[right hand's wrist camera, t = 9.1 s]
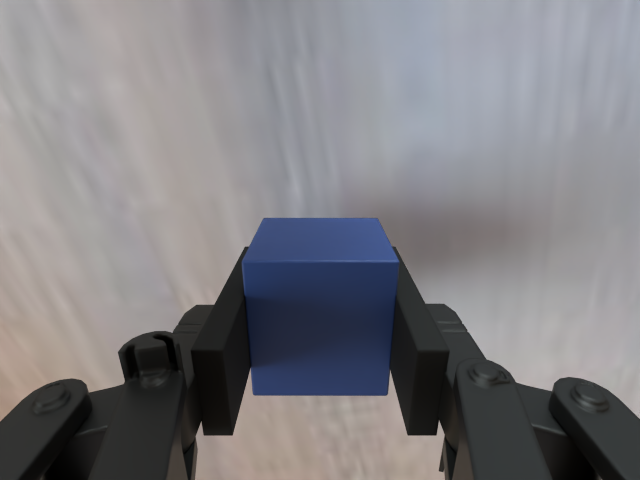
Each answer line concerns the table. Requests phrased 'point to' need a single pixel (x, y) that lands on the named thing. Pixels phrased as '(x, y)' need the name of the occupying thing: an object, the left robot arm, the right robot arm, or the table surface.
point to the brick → (320, 306)
